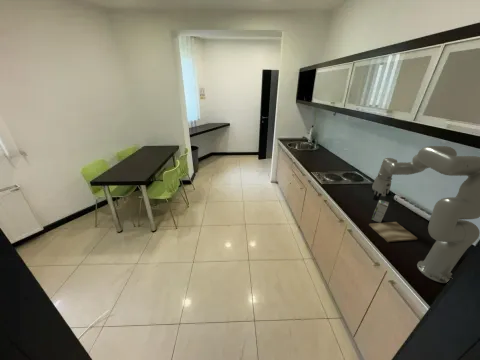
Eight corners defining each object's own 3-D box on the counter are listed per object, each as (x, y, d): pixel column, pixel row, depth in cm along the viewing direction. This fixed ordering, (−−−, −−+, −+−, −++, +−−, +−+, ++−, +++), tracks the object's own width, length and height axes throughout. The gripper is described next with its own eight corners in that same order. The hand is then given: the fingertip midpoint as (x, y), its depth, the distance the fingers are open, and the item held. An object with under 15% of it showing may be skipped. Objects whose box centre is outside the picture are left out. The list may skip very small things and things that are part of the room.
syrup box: (372, 216, 142) (379, 199, 136) (382, 219, 139) (389, 202, 133) (371, 219, 138) (378, 202, 132) (381, 223, 135) (388, 205, 129)
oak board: (416, 239, 121) (417, 238, 120) (387, 242, 119) (388, 240, 118) (395, 223, 135) (395, 221, 135) (368, 225, 133) (369, 223, 132)
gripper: (399, 181, 125) (388, 205, 133) (381, 171, 138) (372, 194, 146) (388, 181, 124) (378, 206, 132) (371, 172, 137) (363, 194, 145)
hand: (375, 199), depth 139 cm, fingers closed
